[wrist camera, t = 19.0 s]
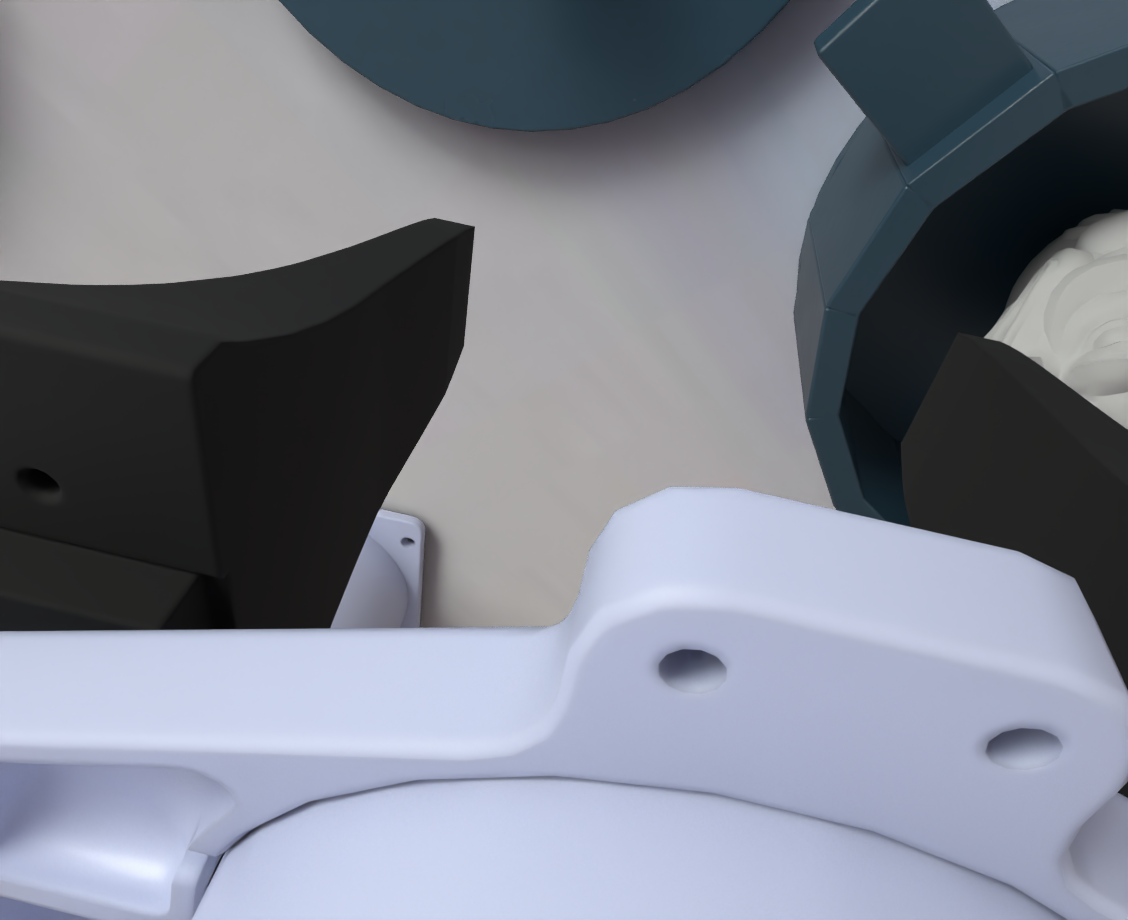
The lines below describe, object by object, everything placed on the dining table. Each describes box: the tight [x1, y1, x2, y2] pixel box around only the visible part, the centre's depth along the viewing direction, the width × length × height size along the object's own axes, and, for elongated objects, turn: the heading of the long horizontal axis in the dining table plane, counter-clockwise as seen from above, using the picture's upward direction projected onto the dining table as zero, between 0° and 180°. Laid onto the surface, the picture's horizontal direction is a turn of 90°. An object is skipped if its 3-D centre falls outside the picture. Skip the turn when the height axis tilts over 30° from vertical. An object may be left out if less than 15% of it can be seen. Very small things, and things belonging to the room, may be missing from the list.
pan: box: [794, 0, 1128, 527], centre depth 18 cm, size 13×19×6 cm
